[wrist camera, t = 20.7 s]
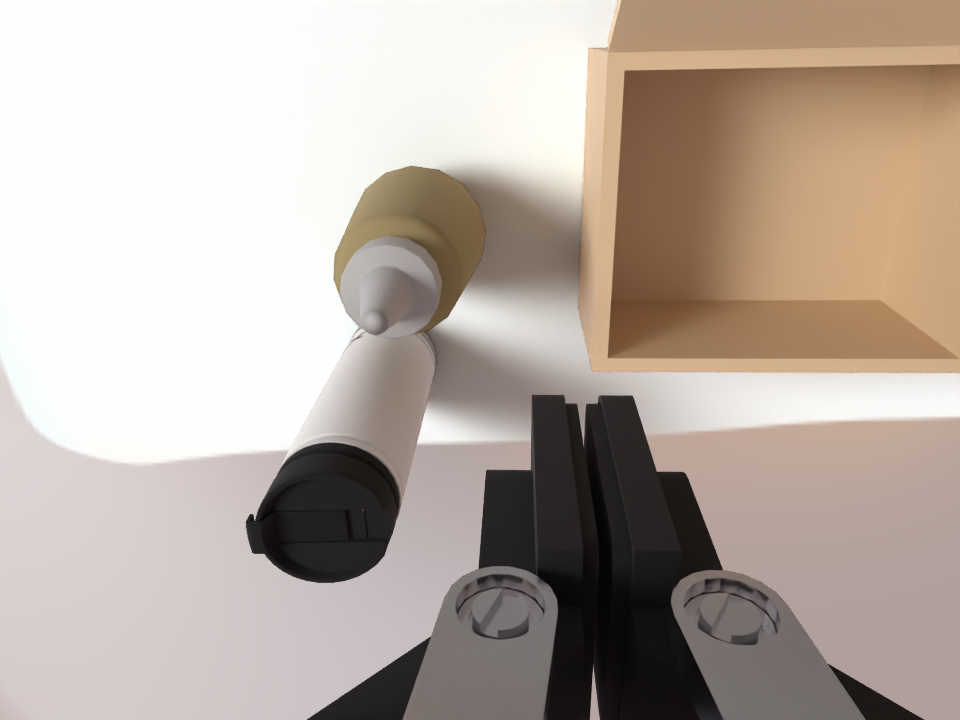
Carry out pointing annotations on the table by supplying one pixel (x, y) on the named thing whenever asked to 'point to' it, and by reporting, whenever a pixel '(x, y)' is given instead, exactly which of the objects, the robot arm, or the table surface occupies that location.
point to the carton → (772, 210)
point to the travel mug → (348, 463)
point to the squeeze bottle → (408, 252)
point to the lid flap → (781, 24)
